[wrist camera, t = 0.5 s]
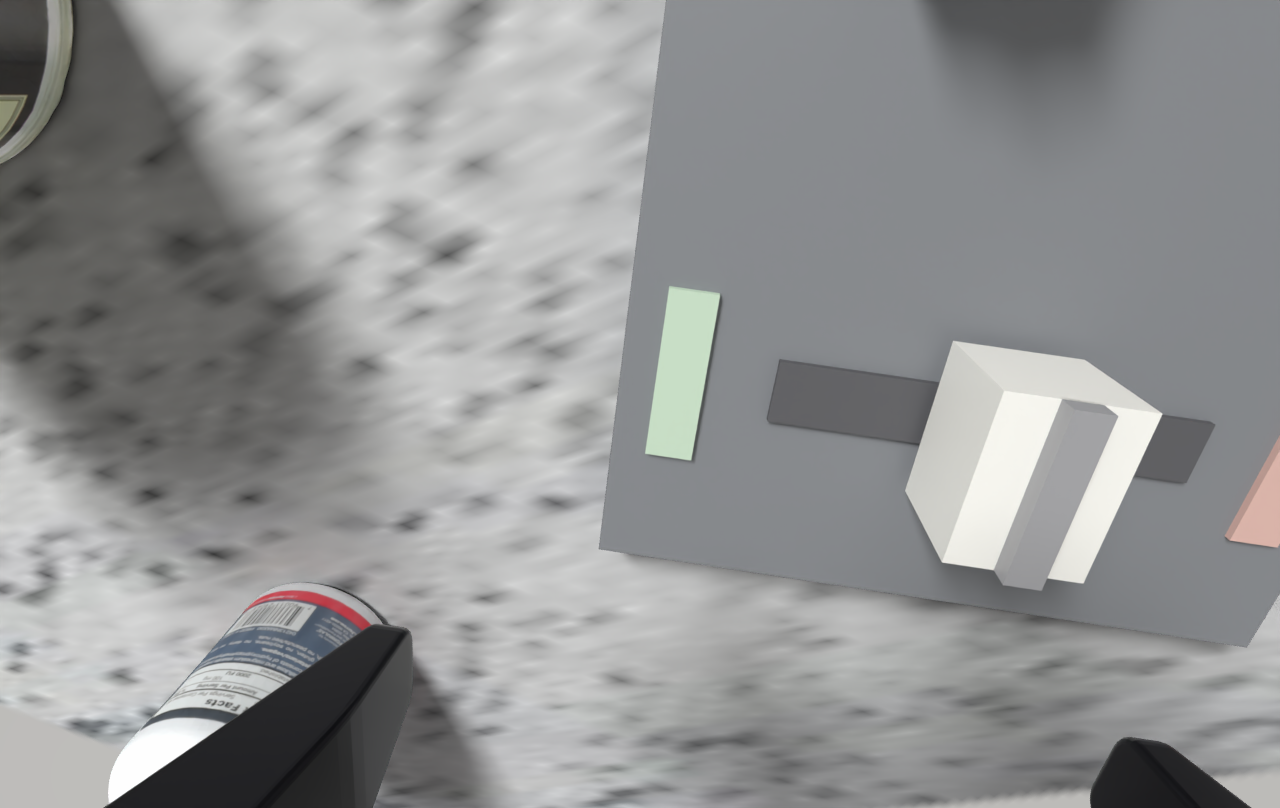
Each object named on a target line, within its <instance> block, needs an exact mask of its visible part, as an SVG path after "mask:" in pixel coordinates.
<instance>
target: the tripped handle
mask: <svg viewBox="0 0 1280 808" xmlns="http://www.w3.org/2000/svg"><path fill="white" fill-rule="evenodd" d="M1161 416H1162V413H1161V412H1160V411H1158V410H1157V409H1155V408H1154V407H1152V406H1151V405H1149V404H1148V403H1147V402H1145V401H1144V400H1142V399H1141V398H1139V397H1138V396H1136V395H1135V394H1134V393H1132V392H1131V391H1129V390H1128V389H1126V388H1125V387H1123V386H1122V385H1121V384H1119V383H1118V382H1116V381H1115V380H1113V379H1112V378H1110V377H1109V376H1107V375H1106V374H1105V373H1103V372H1102V371H1100V370H1099V369H1097V368H1096V367H1094V366H1093V365H1092V364H1090V363H1089V362H1087V361H1086V360H1083V359H1076V358H1069V357H1062V356H1055V355H1048V354H1041V353H1034V352H1027V351H1020V350H1014V349H1007V348H1000V347H993V346H986V345H979V344H972V343H965V342H958V341H953V343H952V346H951V349H950V352H949V355H948V358H947V362H946V365H945V368H944V371H943V374H942V377H941V380H940V383H939V387H938V390H937V393H936V396H935V399H934V402H933V405H932V408H931V412H930V415H929V418H928V421H927V424H926V427H925V430H924V433H923V436H922V440H921V443H920V446H919V449H918V452H917V455H916V458H915V461H914V465H913V468H912V471H911V474H910V477H909V480H908V483H907V486H906V489H905V492H906V494H907V495H908V497H909V499H910V501H911V503H912V505H913V507H914V509H915V511H916V513H917V515H918V517H919V519H920V521H921V523H922V525H923V527H924V528H925V530H926V532H927V534H928V536H929V538H930V540H931V542H932V544H933V546H934V548H935V550H936V552H937V554H938V556H939V558H940V560H941V561H942V563H949V564H956V565H962V566H969V567H976V568H982V569H989V570H994V572H995V573H996V575H997V576H998V578H999V580H1000V581H1001V583H1002V585H1006V586H1013V587H1019V588H1026V589H1032V590H1039V591H1042V589H1043V587H1044V584H1045V582H1046V580H1047V578H1049V579H1055V580H1062V581H1069V582H1075V583H1082V584H1083V583H1084V581H1085V579H1086V577H1087V575H1088V573H1089V570H1090V568H1091V566H1092V564H1093V562H1094V560H1095V558H1096V555H1097V553H1098V551H1099V549H1100V547H1101V545H1102V543H1103V540H1104V538H1105V536H1106V534H1107V532H1108V530H1109V528H1110V525H1111V523H1112V521H1113V519H1114V517H1115V515H1116V513H1117V510H1118V508H1119V506H1120V504H1121V502H1122V500H1123V498H1124V495H1125V493H1126V491H1127V489H1128V487H1129V485H1130V483H1131V480H1132V478H1133V476H1134V474H1135V472H1136V470H1137V468H1138V466H1139V463H1140V461H1141V459H1142V457H1143V455H1144V453H1145V451H1146V448H1147V446H1148V444H1149V442H1150V440H1151V438H1152V436H1153V433H1154V431H1155V429H1156V427H1157V425H1158V423H1159V421H1160V418H1161Z"/></svg>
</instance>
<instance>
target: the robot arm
mask: <svg viewBox="0 0 1280 808" xmlns="http://www.w3.org/2000/svg"><path fill="white" fill-rule="evenodd" d="M412 687H413V658H412V636H411V632H410V631H409V630H408V629H407V628H404V627H398V626H391V625H384V624H373V625H370V626H368V627H366V628H365V629H364V630H362V631H361V632H359V633H358V634H356V635H355V636H353V637H352V638H350V639H349V640H347V641H346V642H345V643H343V644H342V645H340V646H339V647H337V648H336V649H334V650H333V651H331V652H330V653H328V654H327V655H326V656H324V657H323V658H321V659H320V660H318V661H317V662H315V663H314V664H312V665H311V666H310V667H308V668H307V669H305V670H304V671H302V672H301V673H299V674H298V675H296V676H295V677H293V678H292V679H291V680H289V681H288V682H286V683H285V684H283V685H282V686H280V687H279V688H277V689H276V690H274V691H273V692H272V693H270V694H269V695H267V696H266V697H264V698H263V699H261V700H260V701H258V702H257V703H256V704H254V705H253V706H251V707H250V708H248V709H247V710H245V711H244V712H242V713H241V714H239V715H238V716H237V717H235V718H234V719H232V720H231V721H229V722H228V723H226V724H225V725H223V726H222V727H220V728H219V729H218V730H216V731H215V732H213V733H212V734H210V735H209V736H207V737H206V738H204V739H203V740H202V741H200V742H199V743H197V744H196V745H194V746H193V747H191V748H190V749H188V750H187V751H185V752H184V753H183V754H181V755H180V756H178V757H177V758H175V759H174V760H172V761H171V762H169V763H168V764H167V765H165V766H164V767H162V768H161V769H159V770H158V771H156V772H155V773H153V774H152V775H150V776H149V777H148V778H146V779H145V780H143V781H142V782H140V783H139V784H137V785H136V786H134V787H133V788H131V789H130V790H129V791H127V792H126V793H124V794H123V795H121V796H120V797H118V798H117V799H115V800H114V801H113V802H111V803H110V804H108V805H107V806H105V807H104V808H373V806H374V803H375V800H376V797H377V794H378V791H379V789H380V786H381V783H382V780H383V777H384V774H385V772H386V769H387V766H388V763H389V760H390V757H391V755H392V752H393V749H394V746H395V743H396V740H397V738H398V735H399V732H400V729H401V726H402V723H403V721H404V718H405V715H406V712H407V709H408V706H409V703H410V699H411V694H412ZM1090 804H1091V808H1251V807H1250V806H1248V805H1247V804H1246V803H1244V802H1243V801H1242V800H1240V799H1239V798H1238V797H1236V796H1235V795H1234V794H1233V793H1231V792H1230V791H1229V790H1227V789H1226V788H1225V787H1223V786H1222V785H1221V784H1220V783H1218V782H1217V781H1216V780H1214V779H1213V778H1212V777H1210V776H1209V775H1208V774H1206V773H1205V772H1204V771H1202V770H1201V769H1200V768H1199V767H1197V766H1196V765H1195V764H1193V763H1192V762H1191V761H1189V760H1188V759H1187V758H1185V757H1184V756H1183V755H1182V754H1180V753H1179V752H1178V751H1176V750H1175V749H1174V748H1172V747H1171V746H1169V745H1167V744H1165V743H1162V742H1159V741H1153V740H1146V739H1139V738H1133V737H1126V738H1123V739H1121V740H1119V741H1118V742H1117V743H1116V744H1115V746H1114V747H1113V749H1112V751H1111V753H1110V755H1109V757H1108V758H1107V760H1106V762H1105V764H1104V766H1103V767H1102V769H1101V771H1100V773H1099V775H1098V777H1097V778H1096V780H1095V782H1094V784H1093V786H1092V789H1091V794H1090Z"/></svg>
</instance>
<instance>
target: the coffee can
mask: <svg viewBox="0 0 1280 808" xmlns="http://www.w3.org/2000/svg"><path fill="white" fill-rule="evenodd" d="M72 41H73V9H72V0H0V164H1V163H3V162H5V161H7V160H9V159H11V158H12V157H14V156H16V155H17V154H18V153H19V152H21V151H22V150H23V149H24V148H26V147H27V146H28V145H29V144H31V142H32V141H33V140H34V139H35V138H36V137H37V136H38V134H39V133H40V132H41V131H42V130H43V128H44V127H45V125H46V124H47V122H48V121H49V119H50V117H51V115H52V113H53V111H54V110H55V108H56V107H57V105H58V104H59V102H60V99H61V97H62V93H63V88H64V81H65V78H66V75H67V72H68V69H69V65H70V61H71V50H72Z"/></svg>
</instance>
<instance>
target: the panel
mask: <svg viewBox="0 0 1280 808" xmlns="http://www.w3.org/2000/svg"><path fill="white" fill-rule="evenodd" d="M953 341H958V342H965V343H972V344H979V345H986V346H993V347H1000V348H1007V349H1014V350H1020V351H1027V352H1034V353H1041V354H1048V355H1055V356H1062V357H1069V358H1076V359H1083V360H1086V361H1087V362H1089V363H1090V364H1092V365H1093V366H1094V367H1096V368H1097V369H1099V370H1100V371H1102V372H1103V373H1105V374H1106V375H1107V376H1109V377H1110V378H1112V379H1113V380H1115V381H1116V382H1118V383H1119V384H1121V385H1122V386H1123V387H1125V388H1126V389H1128V390H1129V391H1131V392H1132V393H1134V394H1135V395H1136V396H1138V397H1139V398H1141V399H1142V400H1144V401H1145V402H1147V403H1148V404H1149V405H1151V406H1152V407H1154V408H1155V409H1157V410H1158V411H1160V412H1161V413H1162V416H1161V418H1160V421H1159V423H1158V425H1157V427H1156V429H1155V431H1154V433H1153V436H1152V438H1151V440H1150V442H1149V444H1148V446H1147V448H1146V451H1145V453H1144V455H1143V457H1142V459H1141V461H1140V463H1139V466H1138V468H1137V470H1136V472H1135V474H1134V476H1133V478H1132V480H1131V483H1130V485H1129V487H1128V489H1127V491H1126V493H1125V495H1124V498H1123V500H1122V502H1121V504H1120V506H1119V508H1118V510H1117V513H1116V515H1115V517H1114V519H1113V521H1112V523H1111V525H1110V528H1109V530H1108V532H1107V534H1106V536H1105V538H1104V540H1103V543H1102V545H1101V547H1100V549H1099V551H1098V553H1097V555H1096V558H1095V560H1094V562H1093V564H1092V566H1091V568H1090V570H1089V573H1088V575H1087V577H1086V579H1085V581H1084V583H1083V584H1082V583H1075V582H1069V581H1062V580H1055V579H1049V578H1047V580H1046V582H1045V584H1044V587H1043V589H1042V591H1039V590H1032V589H1026V588H1019V587H1013V586H1006V585H1002V583H1001V581H1000V580H999V578H998V576H997V575H996V573H995V572H994V570H989V569H982V568H976V567H969V566H962V565H956V564H949V563H942V561H941V560H940V558H939V556H938V554H937V552H936V550H935V548H934V546H933V544H932V542H931V540H930V538H929V536H928V534H927V532H926V530H925V528H924V527H923V525H922V523H921V521H920V519H919V517H918V515H917V513H916V511H915V509H914V507H913V505H912V503H911V501H910V499H909V497H908V495H907V494H906V492H905V489H906V486H907V483H908V480H909V477H910V474H911V471H912V468H913V465H914V461H915V458H916V455H917V452H918V449H919V446H920V443H921V440H922V436H923V433H924V430H925V427H926V424H927V421H928V418H929V415H930V412H931V408H932V405H933V402H934V399H935V396H936V393H937V390H938V387H939V383H940V380H941V377H942V374H943V371H944V368H945V365H946V362H947V358H948V355H949V352H950V349H951V346H952V343H953ZM599 549H601V550H607V551H614V552H620V553H627V554H634V555H640V556H647V557H653V558H660V559H666V560H673V561H680V562H686V563H693V564H699V565H706V566H713V567H719V568H726V569H732V570H739V571H746V572H752V573H759V574H765V575H772V576H779V577H785V578H792V579H798V580H805V581H812V582H818V583H825V584H831V585H838V586H845V587H851V588H858V589H864V590H871V591H878V592H884V593H891V594H897V595H904V596H911V597H917V598H924V599H930V600H937V601H944V602H950V603H957V604H963V605H970V606H977V607H983V608H990V609H996V610H1003V611H1010V612H1016V613H1023V614H1029V615H1036V616H1043V617H1049V618H1056V619H1062V620H1069V621H1076V622H1082V623H1089V624H1095V625H1102V626H1109V627H1115V628H1122V629H1128V630H1135V631H1142V632H1148V633H1155V634H1161V635H1168V636H1175V637H1181V638H1188V639H1194V640H1201V641H1208V642H1214V643H1221V644H1227V645H1234V646H1241V647H1247V646H1248V645H1249V643H1250V641H1251V640H1252V638H1253V636H1254V635H1255V633H1256V632H1257V630H1258V628H1259V627H1260V625H1261V623H1262V622H1263V620H1264V618H1265V617H1266V615H1267V613H1268V612H1269V610H1270V609H1271V607H1272V605H1273V604H1274V602H1275V600H1276V599H1277V597H1278V595H1279V594H1280V0H666V5H665V14H664V22H663V30H662V38H661V46H660V54H659V62H658V71H657V79H656V87H655V95H654V103H653V111H652V119H651V128H650V136H649V144H648V152H647V160H646V168H645V176H644V185H643V193H642V201H641V209H640V217H639V225H638V234H637V242H636V250H635V258H634V266H633V274H632V282H631V291H630V299H629V307H628V315H627V323H626V331H625V339H624V348H623V356H622V364H621V372H620V380H619V388H618V396H617V405H616V413H615V421H614V429H613V437H612V445H611V453H610V462H609V470H608V478H607V486H606V494H605V502H604V510H603V519H602V527H601V535H600V543H599Z"/></svg>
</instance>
